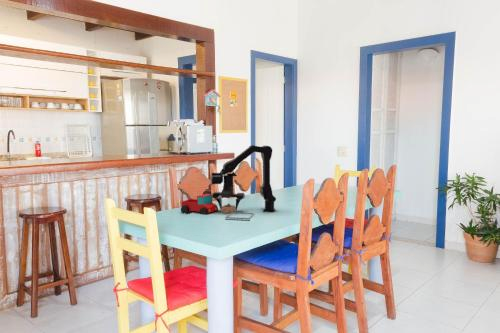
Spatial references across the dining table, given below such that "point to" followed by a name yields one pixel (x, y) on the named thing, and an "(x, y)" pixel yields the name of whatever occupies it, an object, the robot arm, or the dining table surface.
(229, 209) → the ring
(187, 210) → the toy truck
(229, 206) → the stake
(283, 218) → the dining table surface
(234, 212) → the tray
